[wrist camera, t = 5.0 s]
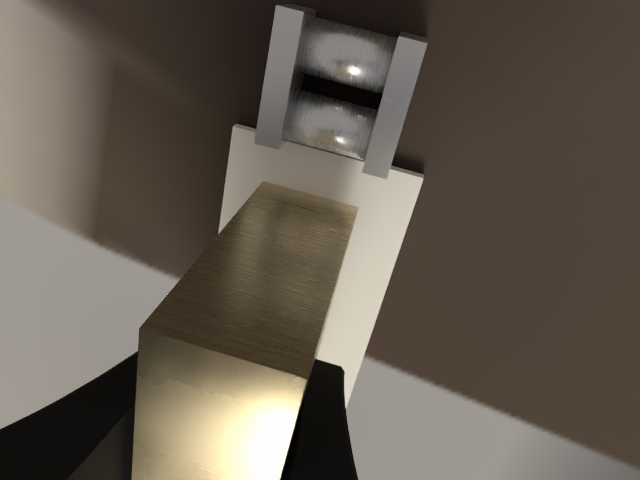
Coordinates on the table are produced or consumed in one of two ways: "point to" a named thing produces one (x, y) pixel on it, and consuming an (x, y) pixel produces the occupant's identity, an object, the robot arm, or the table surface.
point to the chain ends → (344, 67)
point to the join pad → (366, 239)
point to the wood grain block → (239, 342)
